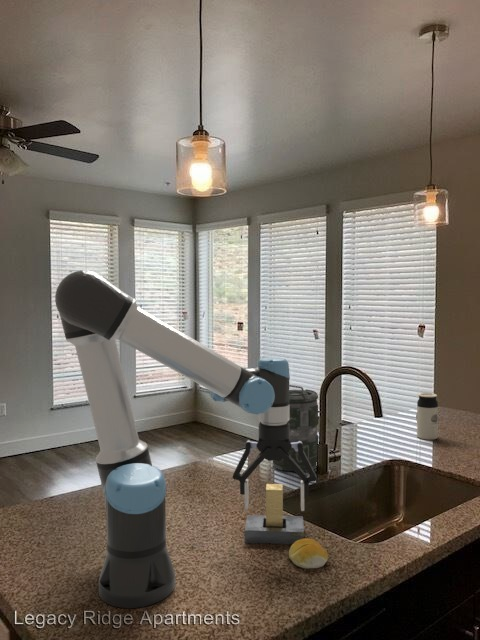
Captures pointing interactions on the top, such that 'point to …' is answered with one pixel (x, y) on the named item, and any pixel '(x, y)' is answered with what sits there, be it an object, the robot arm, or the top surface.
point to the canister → (302, 427)
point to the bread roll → (308, 554)
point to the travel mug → (427, 416)
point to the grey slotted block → (273, 530)
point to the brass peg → (274, 505)
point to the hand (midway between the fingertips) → (274, 508)
